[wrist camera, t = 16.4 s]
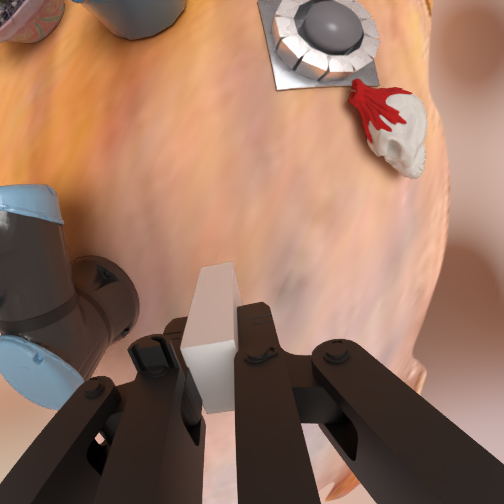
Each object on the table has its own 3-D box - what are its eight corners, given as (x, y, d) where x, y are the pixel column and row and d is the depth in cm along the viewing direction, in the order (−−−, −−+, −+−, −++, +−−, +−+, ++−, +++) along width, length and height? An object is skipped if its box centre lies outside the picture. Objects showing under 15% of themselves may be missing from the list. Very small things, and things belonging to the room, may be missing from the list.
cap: (302, 59, 35) (312, 44, 30) (295, 17, 33) (303, -1, 27) (351, 61, 36) (367, 48, 30) (343, 20, 33) (356, 4, 28)
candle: (400, 181, 42) (321, 124, 40) (429, 127, 39) (356, 71, 38) (427, 183, 33) (334, 111, 32) (459, 120, 30) (373, 50, 29)
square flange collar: (276, 91, 38) (282, 80, 32) (257, 2, 33) (260, -17, 27) (377, 86, 38) (395, 78, 32) (354, 2, 33) (367, -13, 27)
